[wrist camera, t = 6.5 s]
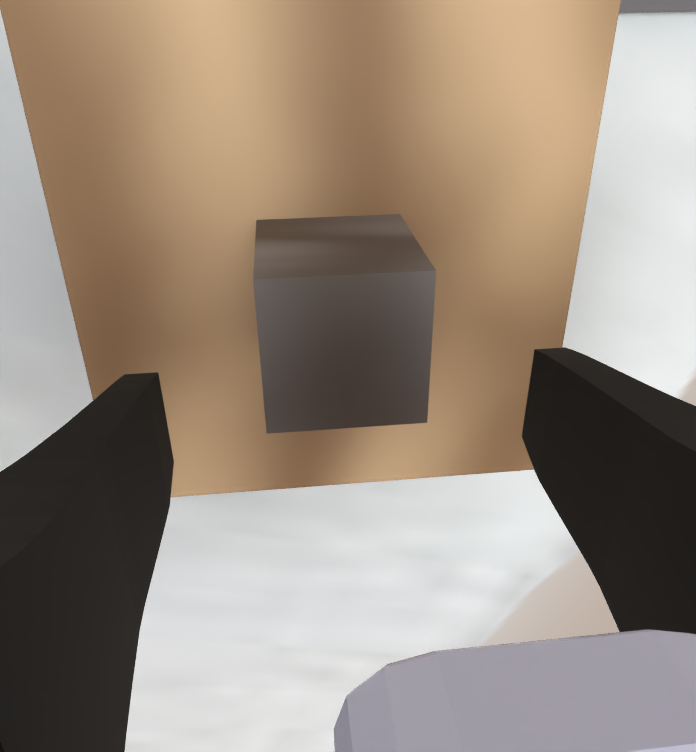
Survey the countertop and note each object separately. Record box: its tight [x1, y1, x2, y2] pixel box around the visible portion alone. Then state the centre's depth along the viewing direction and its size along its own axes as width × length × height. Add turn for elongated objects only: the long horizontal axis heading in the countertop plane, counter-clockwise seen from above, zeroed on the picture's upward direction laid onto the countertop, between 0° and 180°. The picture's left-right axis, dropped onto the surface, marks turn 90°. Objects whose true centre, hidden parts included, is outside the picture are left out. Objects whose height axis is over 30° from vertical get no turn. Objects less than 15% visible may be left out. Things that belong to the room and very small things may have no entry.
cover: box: [0, 0, 621, 497], centre depth 15 cm, size 13×13×5 cm
